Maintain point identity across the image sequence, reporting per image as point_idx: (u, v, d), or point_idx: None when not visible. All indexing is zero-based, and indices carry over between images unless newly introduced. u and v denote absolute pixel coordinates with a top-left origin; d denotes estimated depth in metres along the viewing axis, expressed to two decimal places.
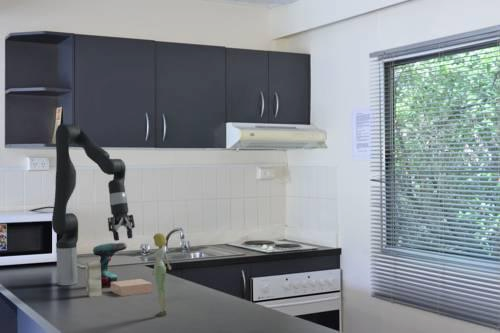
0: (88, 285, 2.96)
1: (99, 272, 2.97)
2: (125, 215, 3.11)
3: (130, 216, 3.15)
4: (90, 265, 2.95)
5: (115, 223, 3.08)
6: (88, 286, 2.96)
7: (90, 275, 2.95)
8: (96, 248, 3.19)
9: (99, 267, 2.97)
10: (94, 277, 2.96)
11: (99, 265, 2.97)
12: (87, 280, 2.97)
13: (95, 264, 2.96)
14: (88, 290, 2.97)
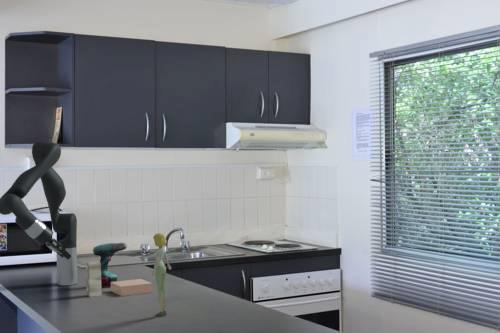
0: (88, 285, 2.96)
1: (99, 272, 2.97)
2: (48, 243, 2.87)
3: None
4: (90, 265, 2.95)
5: None
6: (88, 286, 2.96)
7: (90, 275, 2.95)
8: (96, 248, 3.19)
9: (99, 267, 2.97)
10: (94, 277, 2.96)
11: (99, 265, 2.97)
12: (87, 280, 2.97)
13: (95, 264, 2.96)
14: (88, 290, 2.97)
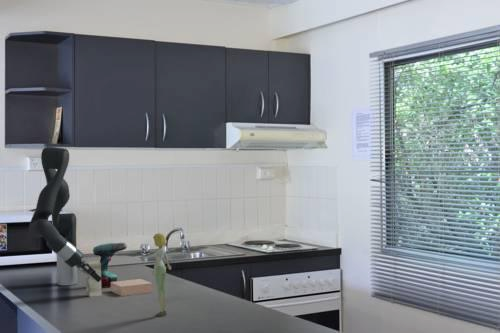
0: (88, 285, 2.96)
1: (99, 272, 2.97)
2: (78, 265, 2.93)
3: None
4: (90, 265, 2.95)
5: None
6: (88, 286, 2.96)
7: None
8: (96, 248, 3.19)
9: (99, 267, 2.97)
10: None
11: (99, 265, 2.97)
12: (87, 280, 2.97)
13: (95, 264, 2.96)
14: (88, 290, 2.97)
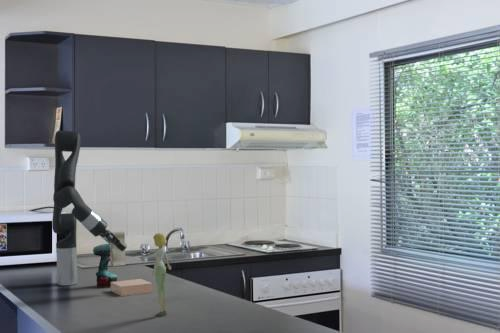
0: (112, 254, 3.00)
1: (123, 242, 3.01)
2: (103, 234, 2.97)
3: None
4: (114, 234, 2.99)
5: None
6: (112, 255, 3.00)
7: (114, 245, 2.99)
8: (96, 248, 3.19)
9: (123, 236, 3.00)
10: None
11: (123, 235, 3.01)
12: (111, 249, 3.01)
13: (119, 234, 3.00)
14: (112, 260, 3.01)
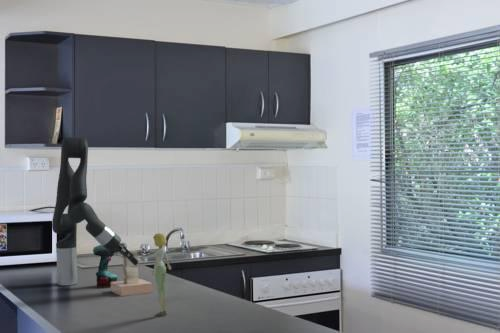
0: (125, 272, 3.03)
1: None
2: (116, 249, 2.99)
3: None
4: None
5: None
6: (126, 273, 3.02)
7: (128, 263, 3.01)
8: (96, 248, 3.19)
9: (136, 255, 3.03)
10: (131, 265, 3.02)
11: (136, 253, 3.03)
12: (124, 267, 3.04)
13: (132, 252, 3.02)
14: (125, 278, 3.03)
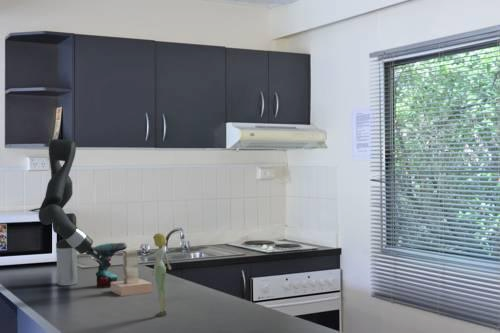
0: (125, 272, 3.03)
1: (136, 260, 3.03)
2: (88, 251, 2.93)
3: None
4: (127, 253, 3.01)
5: None
6: (126, 273, 3.02)
7: (128, 263, 3.01)
8: (96, 248, 3.19)
9: (136, 255, 3.03)
10: (131, 265, 3.02)
11: (136, 253, 3.03)
12: (124, 267, 3.04)
13: (132, 252, 3.02)
14: (125, 278, 3.03)
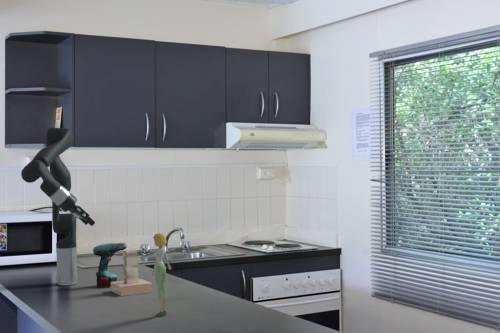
0: (125, 272, 3.03)
1: (136, 260, 3.03)
2: (72, 209, 2.92)
3: None
4: (127, 253, 3.01)
5: None
6: (126, 273, 3.02)
7: (128, 263, 3.01)
8: (96, 248, 3.19)
9: (136, 255, 3.03)
10: (131, 265, 3.02)
11: (136, 253, 3.03)
12: (124, 267, 3.04)
13: (132, 252, 3.02)
14: (125, 278, 3.03)
